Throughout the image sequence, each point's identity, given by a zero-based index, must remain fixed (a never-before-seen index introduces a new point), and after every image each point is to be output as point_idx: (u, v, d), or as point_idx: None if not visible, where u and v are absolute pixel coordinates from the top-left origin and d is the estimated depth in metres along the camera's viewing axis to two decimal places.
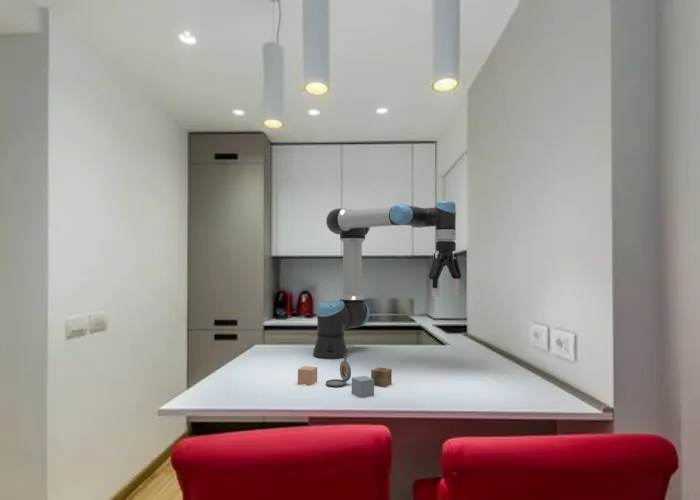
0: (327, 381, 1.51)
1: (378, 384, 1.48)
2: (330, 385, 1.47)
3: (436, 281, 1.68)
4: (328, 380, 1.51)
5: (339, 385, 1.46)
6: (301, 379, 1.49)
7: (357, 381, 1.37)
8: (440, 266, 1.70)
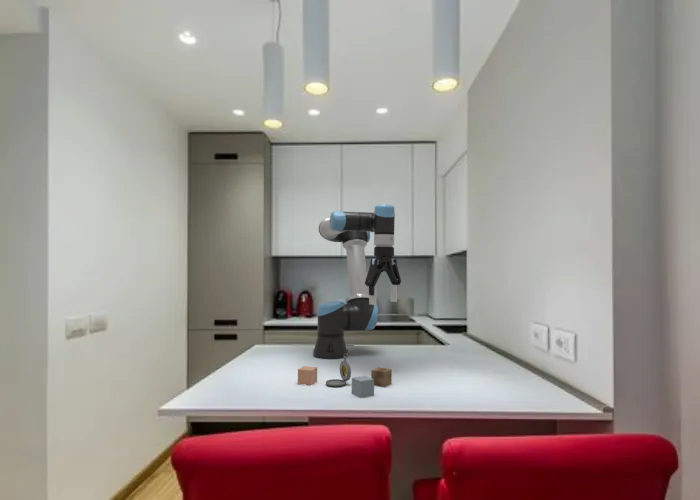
0: (327, 381, 1.51)
1: (378, 384, 1.48)
2: (330, 385, 1.47)
3: (372, 288, 1.61)
4: (328, 380, 1.51)
5: (339, 385, 1.46)
6: (301, 379, 1.49)
7: (357, 381, 1.37)
8: (377, 272, 1.64)
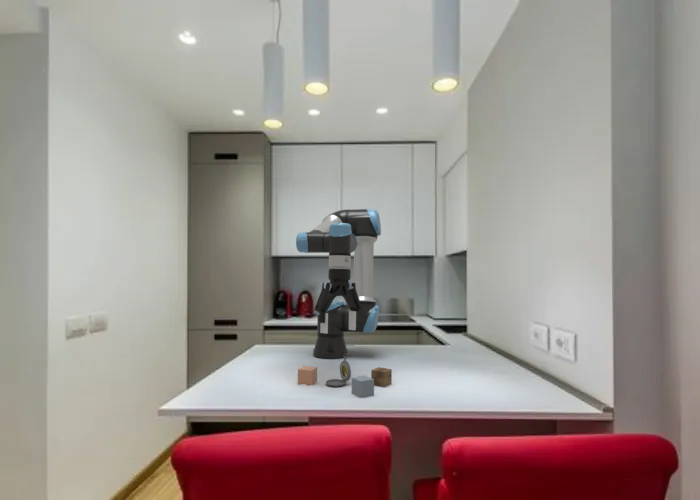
0: (327, 381, 1.51)
1: (378, 384, 1.48)
2: (330, 385, 1.47)
3: (323, 315, 1.46)
4: (328, 380, 1.51)
5: (339, 385, 1.46)
6: (301, 379, 1.49)
7: (357, 381, 1.37)
8: (330, 297, 1.48)
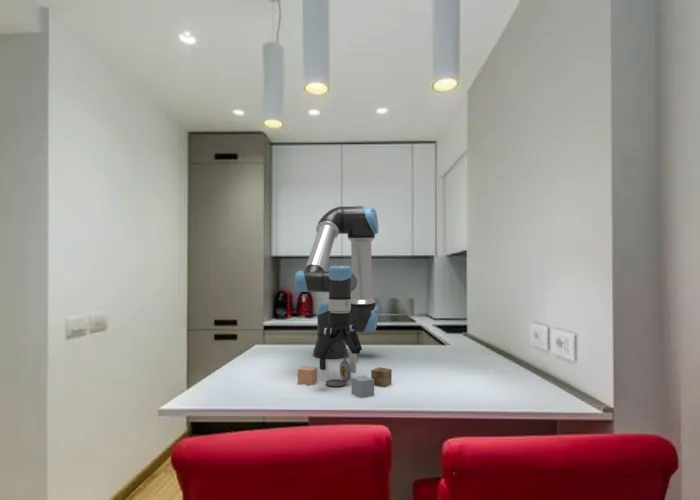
0: (327, 381, 1.51)
1: (378, 384, 1.48)
2: (330, 385, 1.47)
3: (323, 362, 1.44)
4: (328, 380, 1.51)
5: (339, 385, 1.46)
6: (301, 379, 1.49)
7: (357, 381, 1.37)
8: (330, 343, 1.46)
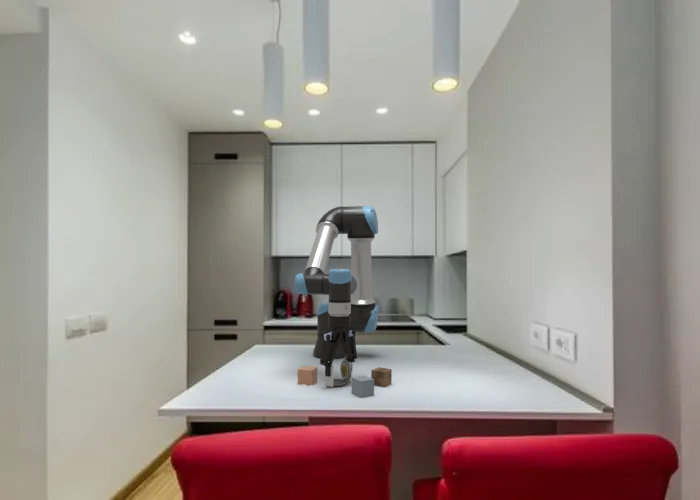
0: None
1: (378, 384, 1.48)
2: None
3: (329, 368, 1.45)
4: None
5: (340, 385, 1.47)
6: (301, 379, 1.49)
7: (357, 381, 1.37)
8: (332, 348, 1.47)
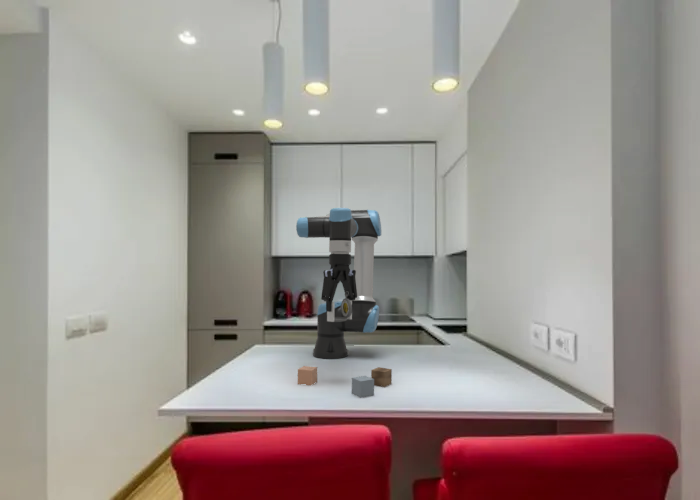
0: None
1: (378, 384, 1.48)
2: None
3: (330, 304, 1.49)
4: None
5: (340, 320, 1.50)
6: (301, 379, 1.49)
7: (357, 381, 1.37)
8: (333, 285, 1.50)
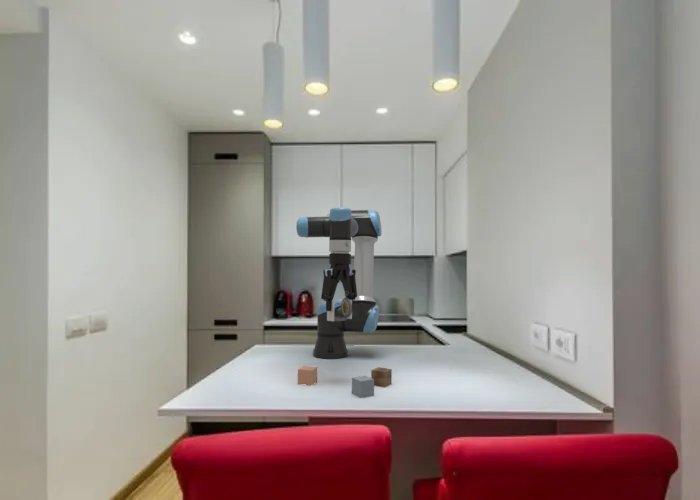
0: None
1: (378, 384, 1.48)
2: None
3: (330, 303, 1.49)
4: None
5: (340, 320, 1.50)
6: (301, 379, 1.49)
7: (357, 381, 1.37)
8: (333, 284, 1.50)
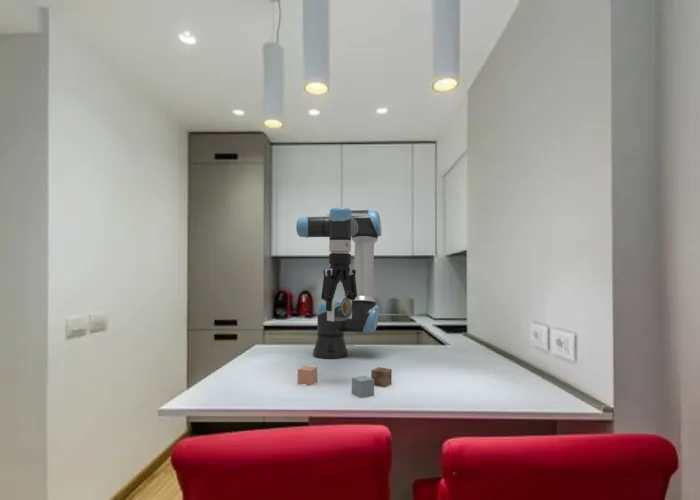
0: None
1: (378, 384, 1.48)
2: None
3: (330, 303, 1.49)
4: None
5: (340, 320, 1.50)
6: (301, 379, 1.49)
7: (357, 381, 1.37)
8: (333, 284, 1.50)
